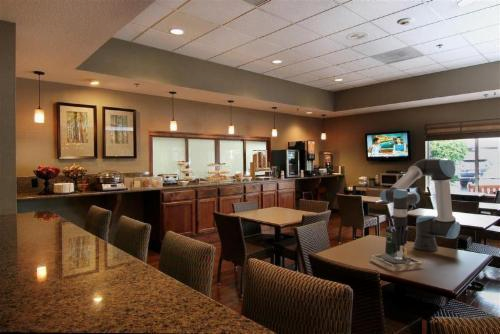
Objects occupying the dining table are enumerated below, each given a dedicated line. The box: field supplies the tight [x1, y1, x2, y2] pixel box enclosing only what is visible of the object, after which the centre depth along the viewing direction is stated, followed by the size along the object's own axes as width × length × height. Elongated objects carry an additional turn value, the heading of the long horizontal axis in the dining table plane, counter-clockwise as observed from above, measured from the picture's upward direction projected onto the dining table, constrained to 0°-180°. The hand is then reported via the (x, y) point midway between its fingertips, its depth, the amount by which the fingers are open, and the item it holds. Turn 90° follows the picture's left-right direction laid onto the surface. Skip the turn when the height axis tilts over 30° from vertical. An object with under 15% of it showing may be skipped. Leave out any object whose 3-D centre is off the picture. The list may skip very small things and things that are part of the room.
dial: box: [382, 247, 412, 264], centre depth 195 cm, size 16×16×9 cm
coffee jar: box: [384, 226, 397, 254], centre depth 214 cm, size 10×8×19 cm
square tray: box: [370, 253, 423, 272], centre depth 195 cm, size 20×20×4 cm
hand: (399, 256), depth 188 cm, fingers closed
